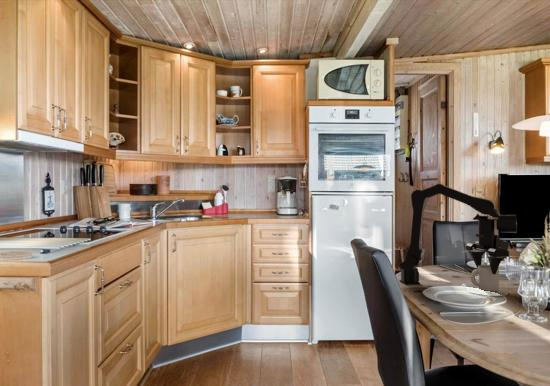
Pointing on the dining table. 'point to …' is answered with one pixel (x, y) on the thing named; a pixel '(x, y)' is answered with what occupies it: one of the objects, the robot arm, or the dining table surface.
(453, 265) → the dining table surface
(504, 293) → the saucer
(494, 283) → the cup
